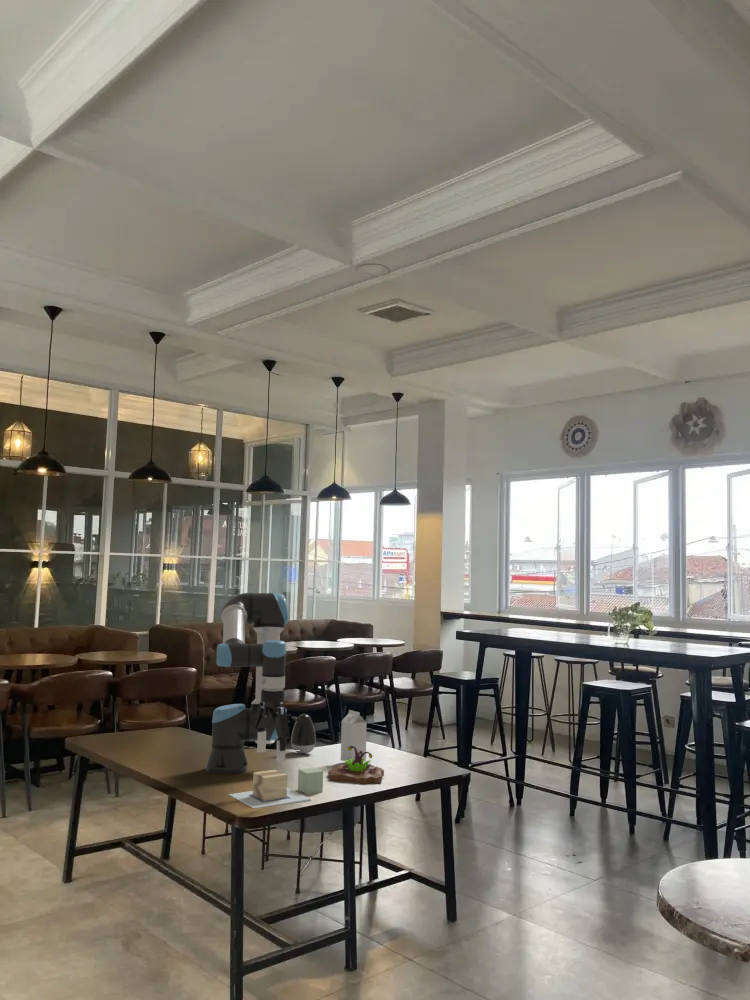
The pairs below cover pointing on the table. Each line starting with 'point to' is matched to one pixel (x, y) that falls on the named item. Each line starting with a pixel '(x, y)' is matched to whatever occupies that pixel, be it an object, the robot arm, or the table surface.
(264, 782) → the maple block
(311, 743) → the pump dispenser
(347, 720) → the milk carton
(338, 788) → the table surface
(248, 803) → the blueprint mat
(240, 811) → the table surface
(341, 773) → the plant
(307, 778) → the sage block
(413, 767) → the table surface
